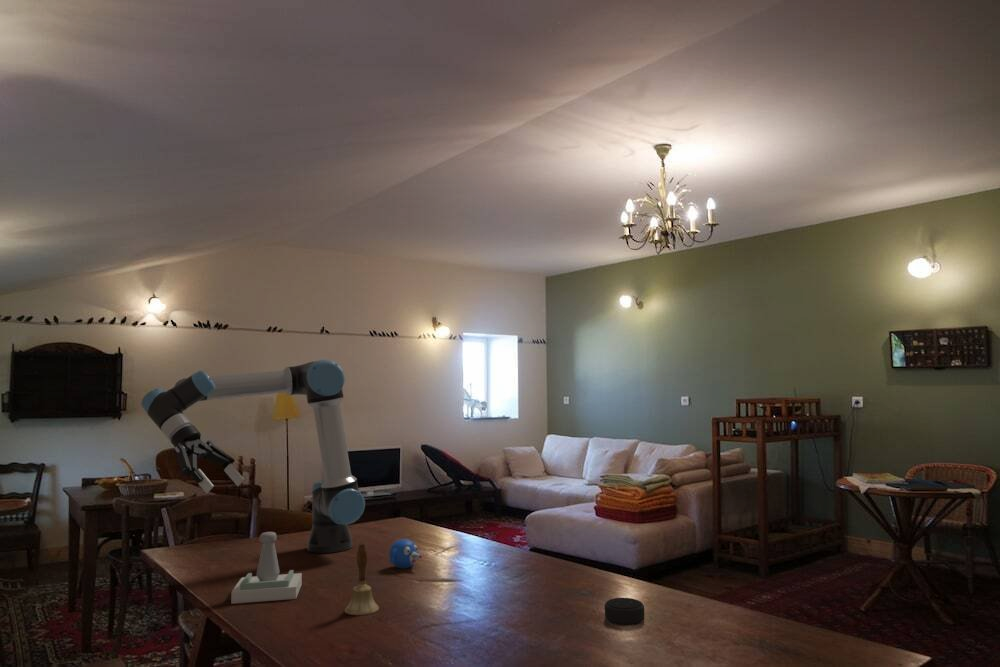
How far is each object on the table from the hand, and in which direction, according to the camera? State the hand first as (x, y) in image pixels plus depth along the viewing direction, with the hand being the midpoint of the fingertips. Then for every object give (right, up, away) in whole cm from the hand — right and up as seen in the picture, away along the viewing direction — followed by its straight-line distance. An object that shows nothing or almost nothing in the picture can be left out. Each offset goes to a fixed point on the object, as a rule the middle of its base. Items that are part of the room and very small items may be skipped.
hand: (226, 486), depth 192 cm
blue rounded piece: (+50, -28, +13) cm, 58 cm away
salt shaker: (+15, -24, -10) cm, 30 cm away
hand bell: (+44, -25, -26) cm, 56 cm away
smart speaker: (+106, -22, -38) cm, 114 cm away
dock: (+15, -27, -10) cm, 32 cm away
